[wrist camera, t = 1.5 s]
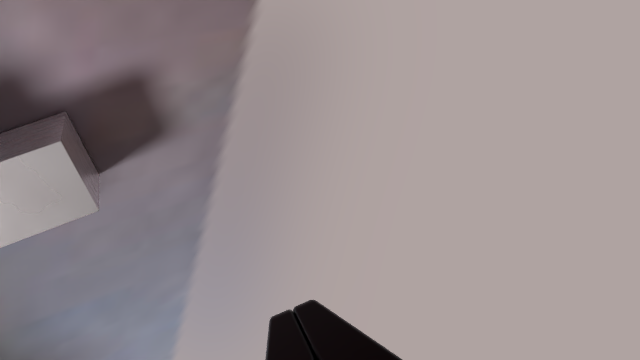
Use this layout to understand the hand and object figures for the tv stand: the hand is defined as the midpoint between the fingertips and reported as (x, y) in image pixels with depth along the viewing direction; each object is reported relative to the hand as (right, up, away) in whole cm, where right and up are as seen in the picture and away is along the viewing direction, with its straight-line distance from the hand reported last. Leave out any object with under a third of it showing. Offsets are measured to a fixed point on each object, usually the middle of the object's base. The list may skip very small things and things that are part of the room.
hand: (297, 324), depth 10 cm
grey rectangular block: (-11, +3, +9) cm, 14 cm away
